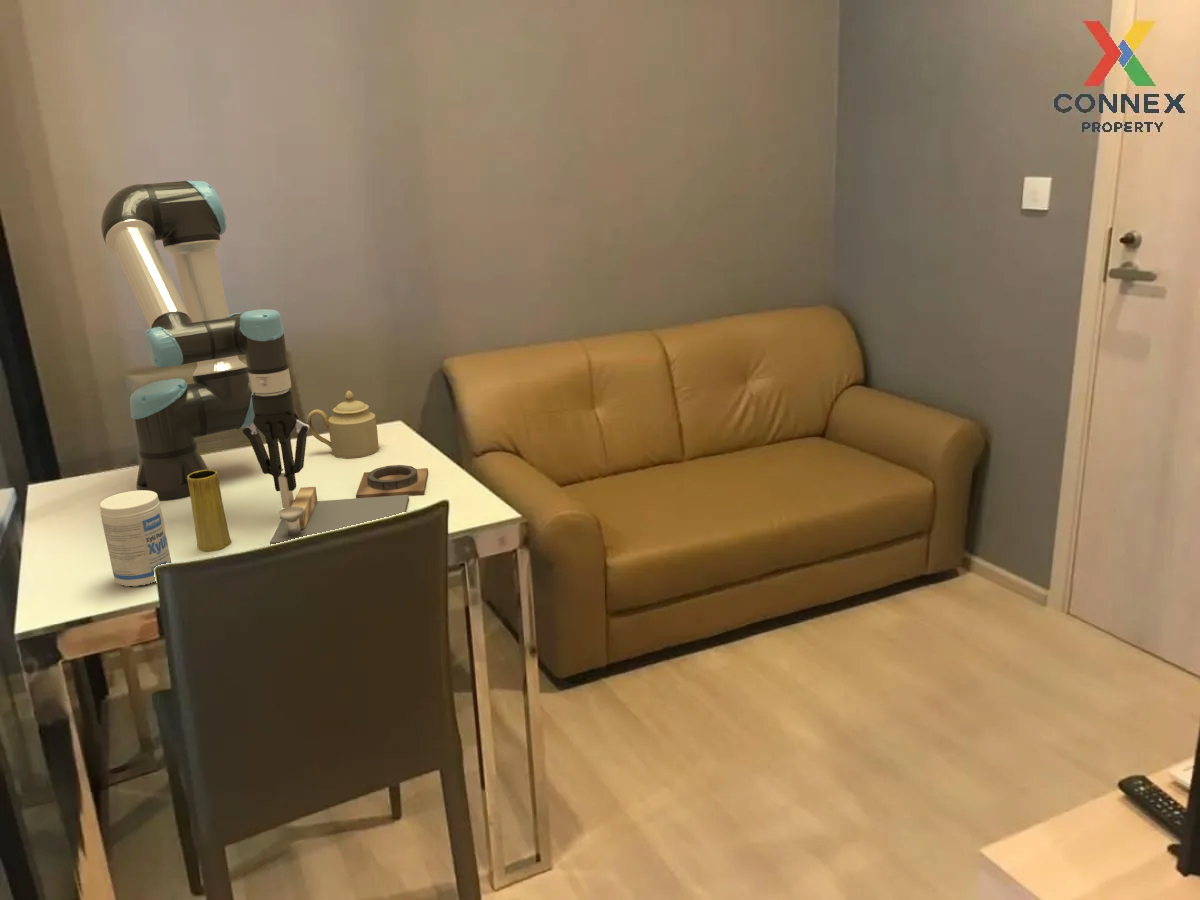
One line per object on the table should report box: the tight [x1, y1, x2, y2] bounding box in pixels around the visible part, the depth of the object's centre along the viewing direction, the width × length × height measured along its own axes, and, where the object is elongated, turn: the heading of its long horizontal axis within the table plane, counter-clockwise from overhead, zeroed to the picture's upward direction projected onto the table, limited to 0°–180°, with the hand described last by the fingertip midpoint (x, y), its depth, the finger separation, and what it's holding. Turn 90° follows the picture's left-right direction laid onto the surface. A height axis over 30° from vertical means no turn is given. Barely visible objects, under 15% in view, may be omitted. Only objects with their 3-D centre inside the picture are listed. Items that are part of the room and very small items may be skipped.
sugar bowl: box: [306, 390, 380, 459], centre depth 237 cm, size 15×11×15 cm
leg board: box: [269, 495, 410, 545], centre depth 198 cm, size 24×20×1 cm
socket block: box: [355, 464, 429, 498], centre depth 216 cm, size 14×14×3 cm
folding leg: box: [278, 486, 318, 529], centre depth 197 cm, size 19×4×5 cm, turn 6°
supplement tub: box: [99, 490, 172, 587], centre depth 175 cm, size 10×10×15 cm
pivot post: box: [286, 518, 301, 537], centre depth 190 cm, size 2×2×4 cm
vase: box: [187, 469, 232, 552], centre depth 187 cm, size 6×6×14 cm
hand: (288, 505), depth 200 cm, fingers closed
